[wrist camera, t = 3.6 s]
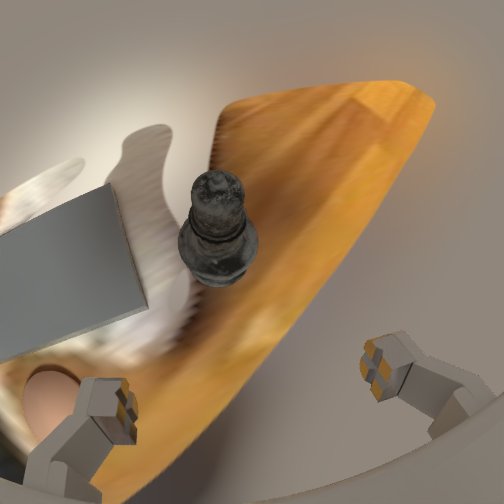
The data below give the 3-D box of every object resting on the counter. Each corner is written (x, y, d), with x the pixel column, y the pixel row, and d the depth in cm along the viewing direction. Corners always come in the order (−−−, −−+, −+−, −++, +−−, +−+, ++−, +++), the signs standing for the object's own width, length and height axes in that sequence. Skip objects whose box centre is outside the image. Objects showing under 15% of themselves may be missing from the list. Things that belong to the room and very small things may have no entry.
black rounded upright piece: (208, 213, 26) (204, 114, 15) (265, 246, 25) (299, 162, 14) (169, 266, 24) (131, 190, 13) (229, 304, 23) (237, 255, 12)
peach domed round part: (49, 458, 17) (44, 460, 16) (18, 380, 19) (12, 380, 18) (113, 446, 18) (110, 449, 18) (78, 361, 21) (73, 360, 20)
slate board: (-2, 364, 19) (-11, 363, 17) (-17, 256, 22) (-25, 252, 20) (148, 308, 23) (144, 305, 21) (114, 191, 26) (109, 182, 24)
